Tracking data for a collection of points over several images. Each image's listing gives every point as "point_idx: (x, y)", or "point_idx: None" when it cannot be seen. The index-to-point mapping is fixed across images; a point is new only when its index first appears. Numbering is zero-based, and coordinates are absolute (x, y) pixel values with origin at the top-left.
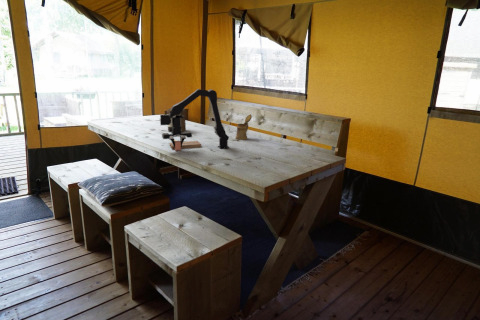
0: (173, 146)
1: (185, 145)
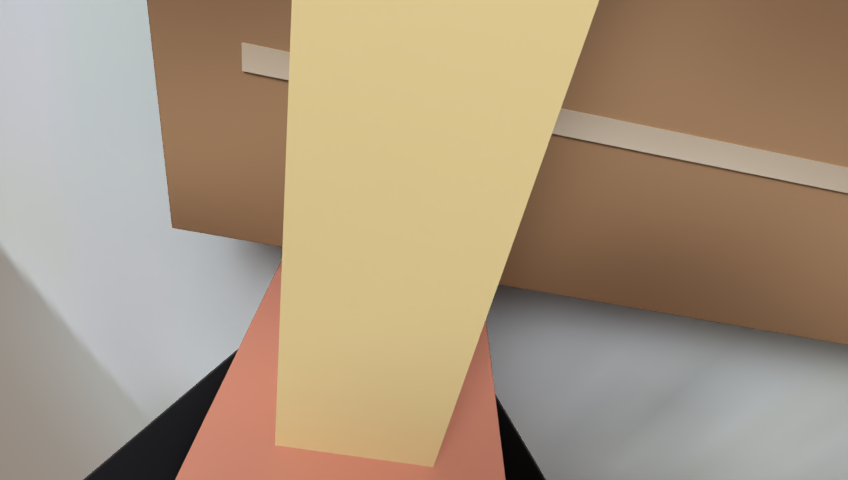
0: (244, 229)
1: (767, 327)
